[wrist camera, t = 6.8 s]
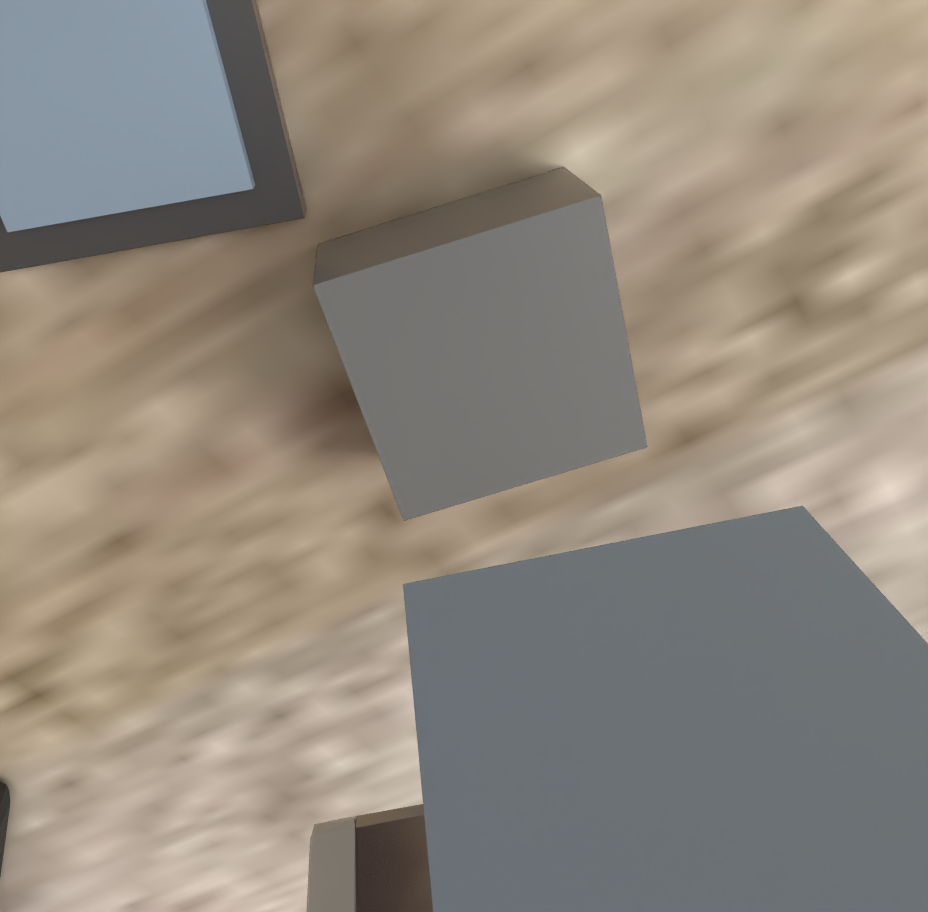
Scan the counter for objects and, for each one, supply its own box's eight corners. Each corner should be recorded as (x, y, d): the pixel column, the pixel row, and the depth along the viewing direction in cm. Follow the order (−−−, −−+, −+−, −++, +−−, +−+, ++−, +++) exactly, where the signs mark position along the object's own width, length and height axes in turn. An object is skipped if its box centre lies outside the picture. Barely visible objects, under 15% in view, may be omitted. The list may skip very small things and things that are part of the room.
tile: (217, -160, 18) (207, -173, 16) (306, 209, 22) (303, 222, 20) (-153, -100, 17) (-193, -109, 16) (6, 263, 21) (-16, 279, 20)
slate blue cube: (802, 506, 10) (1150, 889, 6) (782, 774, 12) (1013, 1184, 8) (402, 584, 10) (444, 1041, 5) (463, 840, 12) (526, 1294, 8)
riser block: (562, 165, 22) (601, 195, 19) (607, 387, 26) (647, 447, 22) (318, 242, 22) (312, 285, 19) (396, 451, 26) (403, 520, 22)
